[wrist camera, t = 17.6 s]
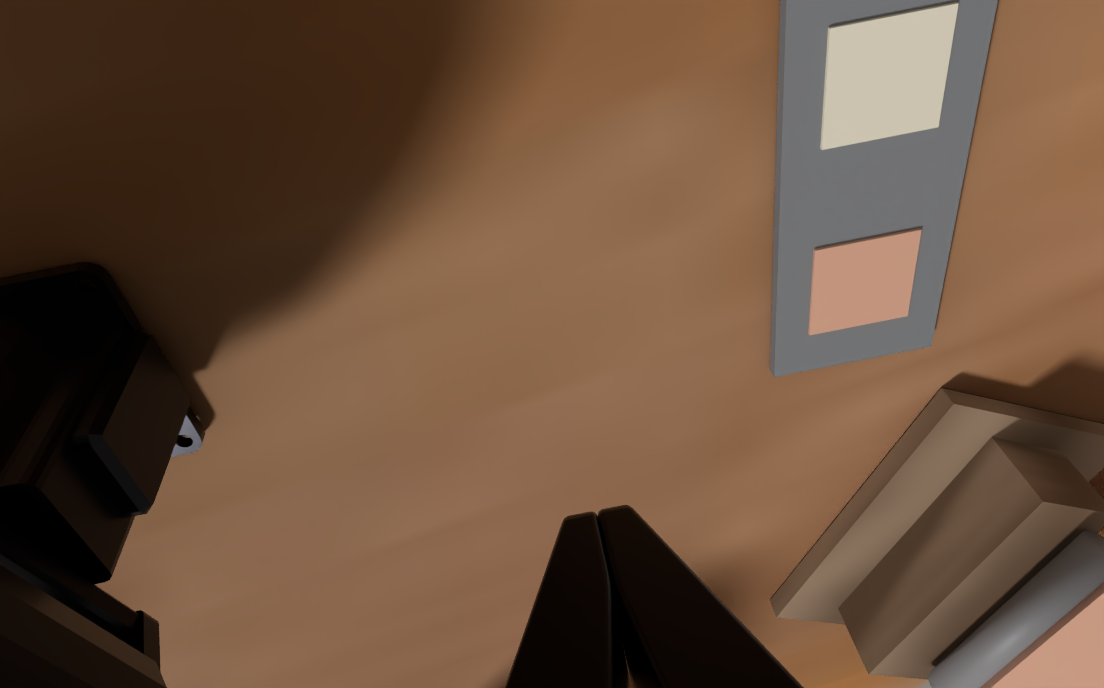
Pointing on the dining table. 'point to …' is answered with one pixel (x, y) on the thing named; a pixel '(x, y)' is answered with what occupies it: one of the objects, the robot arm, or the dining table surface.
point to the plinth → (949, 529)
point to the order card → (869, 171)
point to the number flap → (1040, 630)
